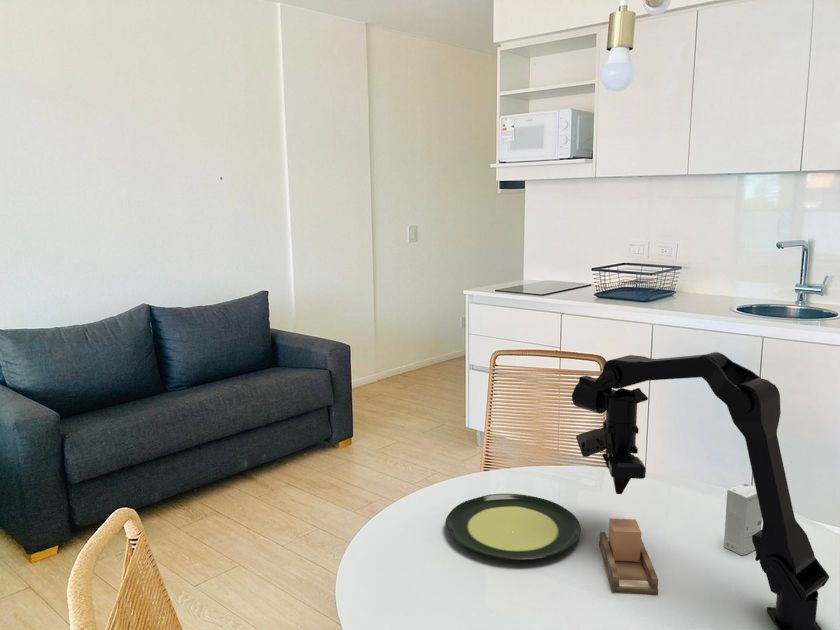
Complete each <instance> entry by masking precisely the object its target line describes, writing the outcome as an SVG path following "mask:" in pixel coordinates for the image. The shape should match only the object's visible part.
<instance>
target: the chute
mask: <svg viewBox="0 0 840 630" xmlns="http://www.w3.org/2000/svg"><path fill="white" fill-rule="evenodd" d="M598 548H599V550H600V555H601V557H602V561H603V564H604V568H605V572H606V576H607V579H608V581H609V585H610V588H611V592H612V593H616V594H617V593H620V594H636V595H637V594H638V595H654V596H655V595H656V596H659V577H658V574H657V573H656V570H655V568H654V566H653V562H652V561H651V559H650V556H649V554H648V551H647V548H646V546H645V544H644V541H643V539H642V538H641V550H640V562H632V561H614V559H613V555H612V552H611V549H610V546H609V539H608V536H607V533H606V532H605V531H600V532H599V541H598Z"/></svg>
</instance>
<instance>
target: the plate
mask: <svg viewBox="0 0 840 630" xmlns="http://www.w3.org/2000/svg"><path fill="white" fill-rule="evenodd" d="M445 527H446V530H447V533H448V534H449V535H450V537H451V538H452V539H453V541H455V542H456V543H458V545H460V546H462V547H464V548H466V549H467V550H470V551H472V552H475V553H478V554H481V555H484V556H485V557H486V556H488V557H490V558H495V559H500V560H510V561H533V560H542V559H546V558H550V557H551V558H552V557H554V556H558V555H560V554H562V553H563V554H564V552H567V551H568V550H569V549H571V548H572V547H573V546H574V545H575V544H576V543H577V542H578V541H579V540H580V539H581V536H582V526H581V523H580V521H579V519H578V518H577V517H576V515H575V514H573V513H572V512H571V511H570V510H568V509H567V508H566V507H564V506H562V505H560V504H558V503H556V502H554V501H552V500H548V499H546V498H541V497H537V496H534V495H533V496H532V495H528V494H521V493H520V494H518V493H493V494H486V495H482V496H478V497H475V498H471V499H467V500H466V501H463V502H460V503H459V504H457V505H455V506H454V508H452V509H451V511H450V512H449V513H448V514H447V516H446V518H445Z"/></svg>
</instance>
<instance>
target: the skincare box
mask: <svg viewBox="0 0 840 630" xmlns="http://www.w3.org/2000/svg"><path fill="white" fill-rule="evenodd" d="M726 493H727V494H726V506H725V508H726V509H725V523H724V537H723V538H724V539H723V547H724V548H726V549H728V550H729V551H731V552H734V553H736V554H737V555H740V556H746V555H747V554H750V553H753V552H755V551H756V550H755V547H754V544H753V542H752V535H754V534H755V533H757V532H759V531H760V530H762V523H763V520H762V516H761V511H760V506H759V502H758V497H757V492H756V487H755V486H754V485H750V484H747V483H742V484H740V485H735V486H734V487H732V488H730V489H727V490H726Z"/></svg>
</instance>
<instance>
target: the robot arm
mask: <svg viewBox="0 0 840 630" xmlns="http://www.w3.org/2000/svg"><path fill="white" fill-rule="evenodd" d="M693 378H694V379H696V378H702V379H703V380H704V381H706V383H707V384H708V386H709V388H710V389H711V392H713V394H714V396H716V397H717V398H718V399H719V400H720V401H722V403H723V404H725V405H726V407H727V409H728V412H729V415H730V417H731V420H732V422H733V424H734V426H736V428H737V430H738V431H739V432H740V433H741V434H742V436H743V438H744V440H745V444H746V445H745V446H746V449H747V454H748V459H749V463H750V466H751V467H750V468H751V472H752V478H753V482H754V487H756V492H757V497H758V502H759V506H760V511H761V516H762V525H761V530H760V531H759V532H757V533H755V534H754V535H752V542H753V544H754V547H755V550H754V551H755V561H756V562H758V561H759V565H760V568H761V569H762V571H763V573H764V574H765V575H766V579H767V582H768V586H769V589H770V592H771V593H773V594H775V595H776V600H775V606H773V607H771V606H767V607H766V612H767V614H768V615H769V617H770V618H771V619H772V621H773V623H774V625H775V626H776V627H777V629H778V630H823V629H822V628H821V626H820V625H819V623H818V622H817V613H818V612H817V610H818V601H819V600H818V599H819V592H818V591H819V590H820V589H821V588H823V587H824V586H825V585H826V584H827V582H828V581H829V579H830V575H829V574H828V573H827V571H826V570H825V568H824V567H823V565H821V563H820V562H819V560H818V559H817V558H816V556H815V552H814V549H813V548H812V547H813V546H812V544H811V542H810V539H809V537H808V534H807V532H806V531H804V529H803V528H802V526H801V525H800V524H799V523H798V521H797V520H796V518H795V514H794V513H795V512H794V509H793V504H792V499H791V496H790V490H789V485H788V481H787V476H786V471H785V466H784V462H783V457H782V453H781V448H780V444H779V438H778V428H779V423H780V418H781V414H782V413H781V394H780V391H779V389H778V387H777V386H776V384H774V383H772V382H771V381H770V380H769V379H768V380H767V379H765V378H761V377H760V376H758V374H757V373H755V372H754V371H752V370H751V369H749V368H746V367H744V366H743V365H740V364H738V363H736V362H735V361H733V360H732V359H730V358H729V357H728V356H726V355H725V354H723V353H721V352H718V351H714V352H709V353H707V354H697V355H696V354H695V355H684V356H673V357H664V358H662V357H661V358H651V357H650V358H649V357H646V356H642V355H632V354H629V355H626V356H620V357H617V358H612V359H608V360H607V361H606V362H605V363H604V365H603V368H602V372H601V373H600V375H598V377H597V378H595V377H592V376H590V375H583V376H579V378H578V383H576V385H575V387H574V388H573V392H572V394H571V400H572V404H573V405H574V406H575V407H577V408H579V409H582V410H586V411H589V412H593V413H596V414H599V415H600V414H602V415H603V414H604V413H605V412H606V419H604V420H603V421H602V427H600V428H594V429H592V430H588V431H584V432H582V433H579V434H577V435H576V436H575V438H576V441H577V445H578V447H579V450H580V452H581V456H582V457H584V458H588V457H590V456H591V455H595V454H597V453H601V452H604V451H605V453H602V454H601V455H602V458H603V460H604V463H605V465H606V467H607V469H608V471H609V474H610V477H611V478H612V481H613V485H614V491H615V494H616V495H622V494H623V492H624V491H625V490H626V487H628V486H627V485H628V484H629V482H630V481H631V479H633V480H634V479H635V480H636V479H637V480H638V479H639V480H642V479H645V478H646V473H647V471H646V469H647V468H646V466H645V464H644V463H643V461H642V460H641V459H640V458H639V457H638V456H635V455H634V454H637V455H638V453H639V452H638V451H639V449H638V447H637V444H636V442H637V434H639V427H638V425H637V417H638V404H640V403H644V402H646V401H648V399H649V398H648V396H647V395H646V394H645V393H644V392H643V391H642V390H641V388H639V387H638V388H634V389H627V388H625V387H630V386H634V385H637V384H641V383H643V382H648V381H661V380H663V381H664V380H676V379H677V380H679V379H680V380H682V379H693Z"/></svg>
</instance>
